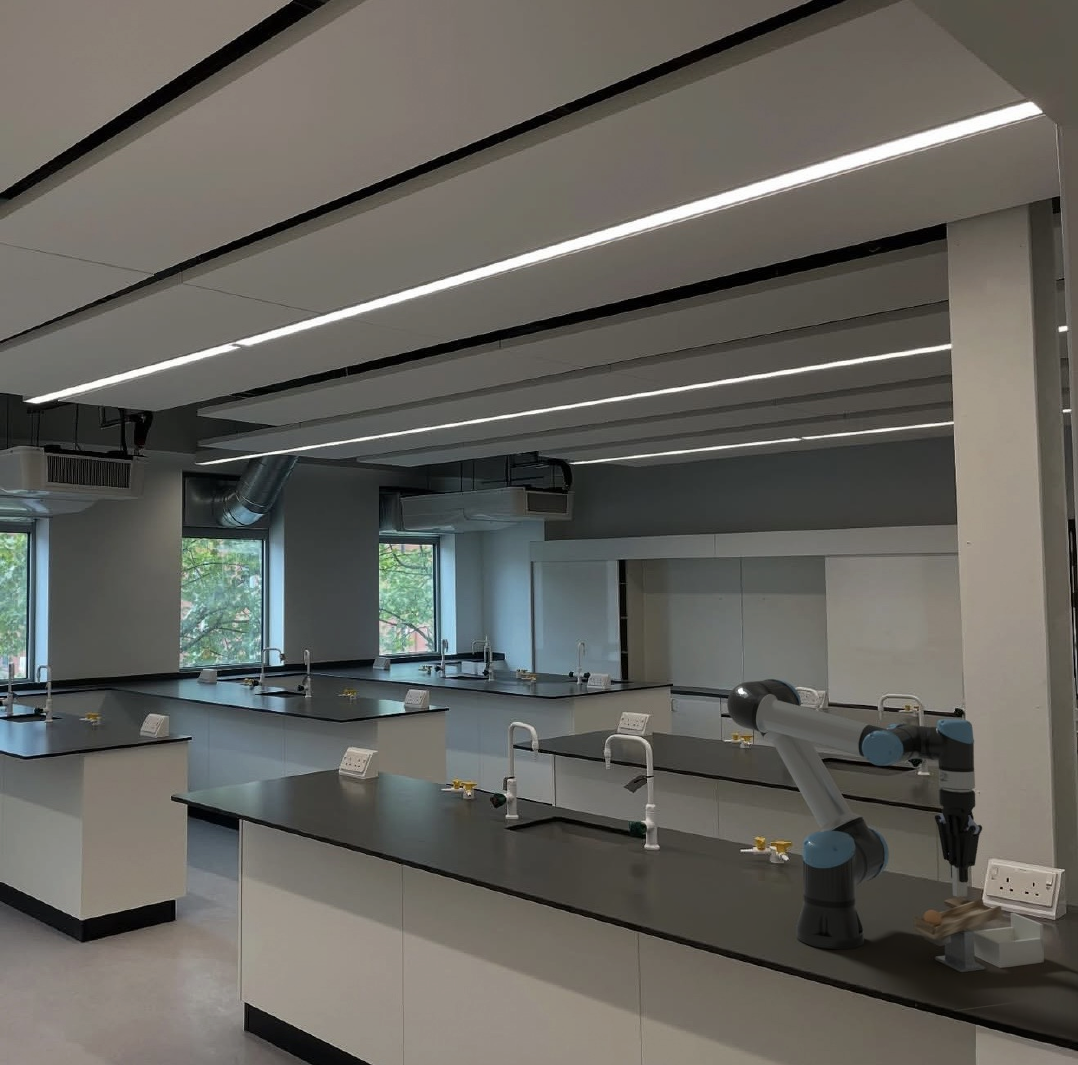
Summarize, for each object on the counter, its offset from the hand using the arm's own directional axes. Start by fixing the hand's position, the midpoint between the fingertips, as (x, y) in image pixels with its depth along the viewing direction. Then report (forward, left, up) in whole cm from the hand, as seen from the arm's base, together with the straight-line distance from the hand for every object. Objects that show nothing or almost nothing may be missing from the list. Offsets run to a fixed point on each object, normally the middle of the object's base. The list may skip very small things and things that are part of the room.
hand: (960, 895), depth 229 cm
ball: (+7, -13, -2) cm, 15 cm away
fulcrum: (+7, -7, -12) cm, 15 cm away
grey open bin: (+7, +6, -12) cm, 15 cm away
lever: (+4, -6, -5) cm, 9 cm away
